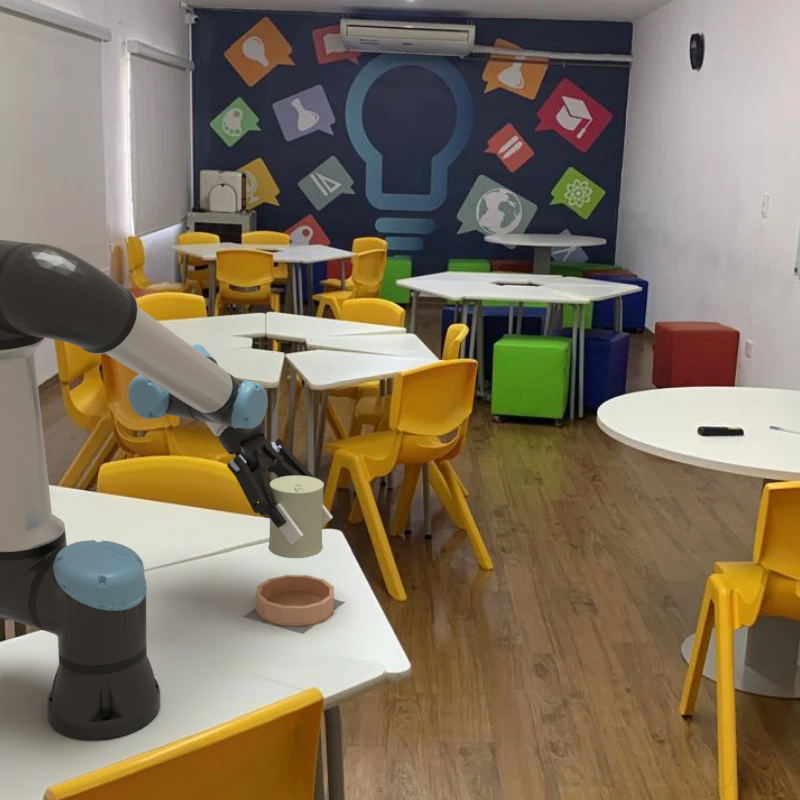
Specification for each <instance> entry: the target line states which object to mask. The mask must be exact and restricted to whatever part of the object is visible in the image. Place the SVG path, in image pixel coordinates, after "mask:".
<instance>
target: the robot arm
mask: <svg viewBox="0 0 800 800" xmlns="http://www.w3.org/2000/svg"><path fill="white" fill-rule="evenodd" d="M45 339H50V340H55V341H60V342H65V343H69V344H71V345H74V346H77V347H78V348H81V349H82V350H83V351H86V352H88V353H89V354H92V355H107V356H108V357H110V358H112V359H113V360H115V361H117V362H118V363H119V364H122V366H125V367H126V368H128V369H130V370H131V371H133V372H134V373H136V374H138V375H136V376H135V377H133V379H132V380H131V381H130V384H129V386H128V389H127V391H128V393H127V394H128V402H129V404H130V407H131V409H132V410H133V411H134V412H135V414H136V415H137V416H139V417H141V418H143V419H146V420H147V419H148V420H150V419H151V420H153V419H160V418H163V417H164V416H172V417H177V418H183V419H188V420H193V421H198V422H199V421H201V422H205V424H206V425H207V426H208V427H207V428H209V430H210V431H211V432H212V434H213V435H214V436H216V437H218V441H219V443H220V444H221V446H222V447H223V448H224V450H225V451H226V453H227V454H228V455H230V456H233V455H235V456H234V457H233V458H232V459H231V460H230V461H229V462H228V463H227V464H226V465H227V468H228V469H229V470H230V471H231V472H230V473H232V475H234V476H235V479H236V480H237V482H238V485H239V487H240V488H241V490H242V492H243V494H244V495H245V497H246V500H247V501H248V503H249V505H250V507H251V509H252V511H253V512H254V513H255V514H259V516H261V517H263V516H265V515H266V514H267V516H268V517H269V520H270V519H271V520H272V521H273V523H274V524H275V525H276V526H277V527H278V528H279V529H280V530H281V532H282V533H283V534H284V536H285V537H286V539H287V540H288V541H289V543H290V544H291V545H292V544H293V543H295V542H296V541H297V540H298V539H299V538H301V537H302V536H303V533H302V532H301V531H300V529H299V528H298V526H297V525H296V524H295V522H294V521H293V520H292V518H291V517H290V516H289V514H288V513H287V511H286V510H285V509H284V508H283V506H282V505H281V503H280V504H278V505H277V506H275V505H276V502H275V499H274V496H273V493H272V490H271V487H270V482H269V478H268V475H267V472H269V473H274V474H275V475H276V476H278V478H279V477H284V476H294V475H298V476H309V477H313V478H316V477H315V476H314V474H312V473H311V471H309V470H308V469H307V467H306V466H305V465H303V463H301V461H300V460H299V459H298V458H297V457H296V456H295V455H294V454H293V453H292V452H291V451H290V450H289V449H288V447H287V446H286V444H285V443H284V441H283V440H282V439H281V438H279V437H278V438H277V439H276V440H275V441H273V442H271V441H270V440H268V439H267V438H266V437H265V436H264V435H265V434H264V433H265V429H266V427H264V425H263V424H262V422H263V420H264V418H265V416H266V412H267V410H268V404H269V403H268V402H269V401H268V394H267V391H266V389H265V387H263V385H262V384H260V383H258V382H255V381H252V380H251V381H250V380H249V379H240V378H237V377H236V376H234V375H232V374H231V373H229V372H228V371H227V370H225V369H224V368H222V367H221V366H219V364H218V361H217V360H216V359H215V358H214V357H213V356H212V355H211V354H210V352H209V351H208V350H207V349H206V348H205V347H204V346H203V345H201V344H192V345H191V344H189V343H188V342H187V341H185V340H184V339H182V338H181V337H180V336H178V335H177V334H176V333H174V331H172V330H170V329H169V328H168V327H166V326H164V325H163V324H162V323H160V322H159V321H158V320H157V319H156V318H154V317H152V316H151V315H149V314H148V313H147V312H145V311H144V310H143V309H141V308H140V307H139V304H138V300H137V298H136V296H134V294H133V293H132V292H131V291H130V290H129V289H127V288H126V287H124V286H123V284H120V283H119V282H118V281H117V280H115V279H114V278H113V277H111V276H109V275H108V274H106V273H105V272H104V271H102V270H100V269H99V268H97V267H96V266H95V265H93V264H92V263H91V264H90V263H89V262H87V261H86V260H84V259H83V258H81V257H79V256H77V255H75V254H73V253H72V252H69V251H67V250H66V249H64V248H63V249H62V248H60V247H57V246H54V245H50V244H46V243H38V242H37V243H36V242H35V243H31V242H24V241H23V242H22V241H13V240H6V239H0V619H2V620H6V621H13V622H17V623H20V624H22V625H25V626H29V627H31V628H34V629H37V630H40V631H43V632H47V633H51V634H53V635H56V637H57V648H58V666H57V670H56V672H55V675H54V678H53V679H54V680H53V682H52V687H51V690H50V692H49V693H48V694H49V695H48V696H47V697H48V698H47V703H46V705H47V707H46V708H47V720H48V723H49V725H50V727H52V728H53V730H54V731H56V732H57V733H60V734H61V735H64V736H66V737H70V738H72V739H73V738H74V739H80V740H107V739H113V738H117V737H118V738H119V737H120V736H121V737H122V736H124V735H128V734H131V733H133V732H135V731H137V730H140V729H141V728H143V727H145V726H147V725H148V724H149V723H150V722H151V721H153V720H154V719H155V717H156V716H157V715H158V714H159V711H160V710H161V709H160V708H161V689H160V685H159V682H158V680H157V679H156V678H155V674H154V670H153V667H152V665H151V663H150V662H151V661H150V660H149V657H148V654H147V650H148V649H147V588H148V587H147V580H146V576H145V566H144V562H143V560H142V559H141V558H142V557H141V556H139V554H138V553H137V552H136V551H134V550H133V549H131V548H130V547H129V546H126V545H124V544H123V543H122V544H121V543H117V542H114V541H109V540H101V541H96V540H95V539H94V540H93V539H92V540H91V539H90V540H89V539H88V540H82V541H81V540H80V541H76V542H74V543H70V544H67V535H66V527H65V526H66V525H65V522H64V521H63V520H62V518H59V517H58V516H56V515H55V514H53V513H52V512H53V511H52V503H51V493H50V483H49V475H48V466H47V458H46V457H47V456H46V448H45V441H44V432H43V431H44V430H43V423H42V422H43V421H42V413H41V404H40V403H41V402H40V394H39V393H40V392H39V384H38V375H37V367H36V359H35V358H36V357H35V352H36V350H37V349H38V348H39V347H40V346H41V345H42V343H44V341H45ZM333 517H334V516H333V515H332V514H331V513H330V511H329V509H328V508H327V507H326V506H325V505H324V503H323V514H322V527H323V526H325V525H326V524H327V523H328V522H330V521H331V520H332V519H333Z"/></svg>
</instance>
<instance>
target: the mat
mask: <svg viewBox="0 0 800 800" xmlns="http://www.w3.org/2000/svg"><path fill="white" fill-rule="evenodd" d="M345 603H346V601H343V600H339V599H335V598H334V611H336V610H337V609H338V608H339V607H341V606H342V605H343V604H345ZM242 617H243V618H246V619H249V620H252V621H256V622H259V623H263V624H265V625H266V624H267V625H270V626H274V627H278V628H281V629H284V630H287V631H290V632H295V633H299V634H302V635H304V634H305V633H306V632H307V631H309V630H310V629H311V628H313V627H315V625H317V624H314V625H309V626H302V627H287V626H279V625H275V624H272V623H269V622H266V621H265V620H263V619H262V618H260V617H259V616H258V614H257V611H256V607H255V608H254V609H252V610H251V611H249V612H247V613H246V614H245V615H243V616H242Z"/></svg>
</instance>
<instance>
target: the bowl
mask: <svg viewBox="0 0 800 800" xmlns="http://www.w3.org/2000/svg"><path fill="white" fill-rule="evenodd" d="M256 587H257V588H256V593H255V608H256V611H257V614H258V616H259V617H260V618H262V619H263V620H265V621H266V622H269V623H272V624H275V625H279V626H287V627H302V626H309V625H314V624H316V625H317V624H320V623H323V622H325V621H326V620H327V619H329V618H330V617H331V616H332V615H333V614H334V611H335V610H334V599H335V587H334V585H332V584H330V583H329V582H328V581H326V580H325V579H323V578H319V577H315V576H312V575H307V574H306V575H305V574H301V575H299V574H285V575H281V576H275V577H271V578H268V579H266V580H265V581H263V582H261V583H260V584H259V585H257V586H256ZM314 626H315V625H314Z"/></svg>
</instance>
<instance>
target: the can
mask: <svg viewBox="0 0 800 800" xmlns="http://www.w3.org/2000/svg"><path fill="white" fill-rule="evenodd" d="M269 484H270V487H271V490H272V493H273V496H274V499H275V502H276V505H275V506H277V505H278V504H280V503H281V505H282V506H283V508H284V509H285V510H286V511H287V513H288V514H289V516H290V517H291V518H292V520H293V521H294V522H295V524H296V525H297V526H298V528H299V529H300V531H301V532H302V533H303V536H302V537H301V538H299V539H298V540H297V541H296V542H295V543H293V544H292V545H291V544H290V543H289V541H288V540H287V539H286V537H285V536H284V534H283V533H282V532H281V530H280V529H279V528H278V527H277V526H276V525H275V524H274V523H273V521H272V520H271V519H270V518H269V537H268V538H269V541H268V550H269V551H270V553H272V554H273V555H276V556H277V557H281V558H285V559H305V558H310V557H314V556H316V555H318V554H320V553H321V552H322V551H323V548H324V546H323V526H322V514H323V504H324V488H325V487H324V486H325V483H324V481H322V480H321V479H319V478H317V477H315V478H313V477H309V476H298V475H294V476H284V477H279V476H278V477H276V478H274V479H273V480H271V481H270V482H269Z"/></svg>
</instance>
